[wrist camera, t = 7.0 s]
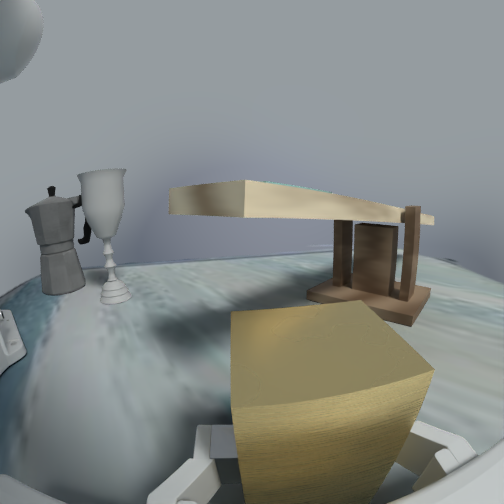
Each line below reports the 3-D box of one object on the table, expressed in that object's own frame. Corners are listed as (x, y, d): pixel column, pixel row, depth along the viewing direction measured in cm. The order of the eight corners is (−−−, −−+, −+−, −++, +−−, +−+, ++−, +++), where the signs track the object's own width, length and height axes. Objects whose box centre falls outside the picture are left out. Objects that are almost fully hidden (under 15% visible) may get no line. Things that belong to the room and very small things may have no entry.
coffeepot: (26, 296, 36) (10, 193, 32) (48, 281, 45) (37, 191, 41) (96, 294, 38) (82, 177, 35) (113, 277, 48) (103, 179, 44)
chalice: (91, 309, 33) (73, 173, 29) (94, 294, 39) (80, 177, 35) (141, 301, 36) (127, 166, 32) (137, 287, 42) (125, 172, 38)
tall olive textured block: (253, 544, 7) (230, 408, 4) (247, 476, 11) (231, 311, 9) (350, 527, 7) (434, 369, 5) (329, 465, 11) (360, 299, 9)
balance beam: (168, 214, 17) (169, 186, 17) (402, 221, 51) (402, 213, 50) (244, 217, 12) (245, 177, 12) (433, 225, 46) (434, 216, 45)
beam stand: (306, 299, 35) (306, 203, 32) (343, 279, 42) (345, 200, 39) (411, 326, 25) (423, 209, 22) (429, 296, 32) (437, 206, 29)
